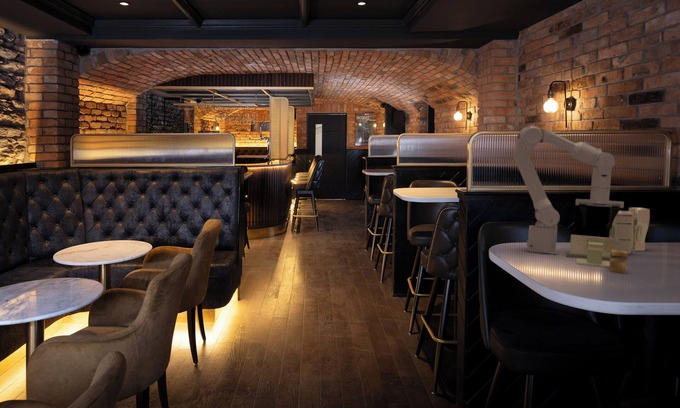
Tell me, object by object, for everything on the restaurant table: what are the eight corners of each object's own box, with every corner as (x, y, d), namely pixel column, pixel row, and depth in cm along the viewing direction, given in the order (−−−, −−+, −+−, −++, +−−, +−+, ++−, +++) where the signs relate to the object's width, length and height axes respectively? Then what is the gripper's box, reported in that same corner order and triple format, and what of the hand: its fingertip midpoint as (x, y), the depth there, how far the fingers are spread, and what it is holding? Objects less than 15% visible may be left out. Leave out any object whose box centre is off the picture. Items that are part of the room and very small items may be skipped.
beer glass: (634, 246, 188) (638, 207, 186) (651, 250, 181) (655, 209, 179) (619, 247, 186) (623, 207, 184) (636, 251, 179) (640, 210, 177)
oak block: (610, 271, 150) (611, 252, 149) (609, 268, 153) (610, 249, 153) (625, 273, 148) (627, 253, 147) (624, 270, 152) (626, 250, 151)
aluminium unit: (566, 256, 169) (567, 236, 168) (566, 253, 173) (567, 233, 172) (620, 262, 162) (622, 240, 161) (619, 259, 167) (621, 238, 166)
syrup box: (631, 254, 174) (634, 213, 172) (612, 253, 175) (616, 212, 174) (625, 251, 180) (628, 210, 178) (607, 250, 181) (610, 210, 179)
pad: (576, 264, 158) (576, 262, 158) (576, 259, 165) (576, 258, 165) (612, 267, 154) (612, 266, 154) (610, 263, 161) (610, 261, 161)
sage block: (587, 262, 158) (588, 243, 158) (586, 260, 162) (588, 241, 161) (601, 264, 157) (603, 245, 156) (600, 261, 160) (602, 243, 160)
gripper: (577, 187, 170) (574, 227, 172) (626, 189, 164) (622, 230, 166) (576, 185, 176) (573, 224, 178) (623, 188, 171) (620, 227, 172)
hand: (597, 227), depth 172 cm, fingers open, 7 cm apart
